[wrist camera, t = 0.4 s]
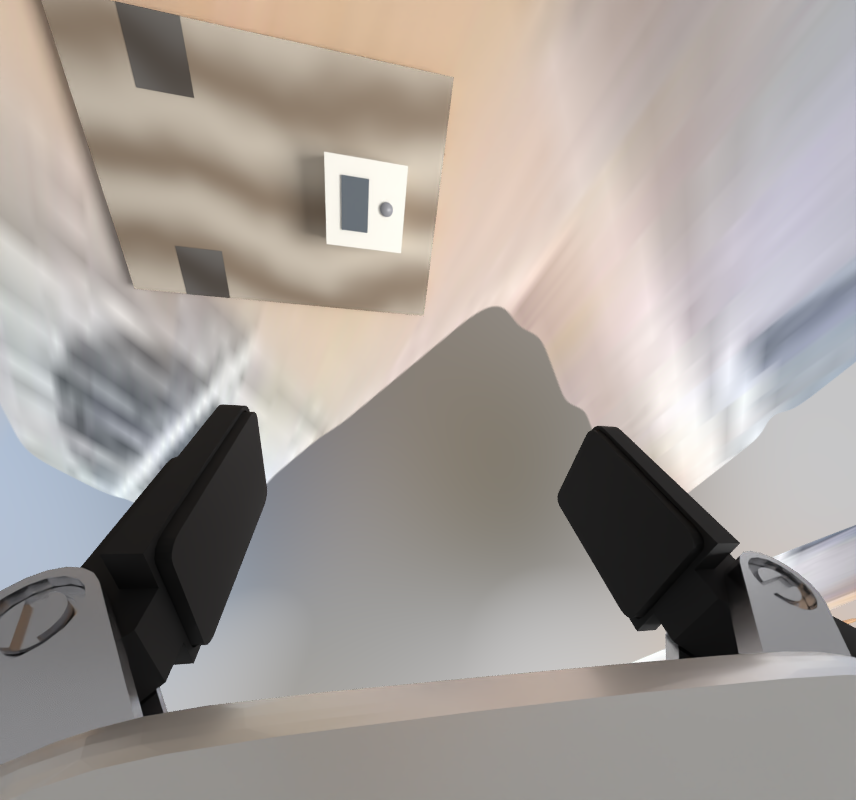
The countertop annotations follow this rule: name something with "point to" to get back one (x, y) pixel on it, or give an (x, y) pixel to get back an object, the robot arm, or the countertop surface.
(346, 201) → the thermostat
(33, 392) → the countertop surface
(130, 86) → the subfloor panel
